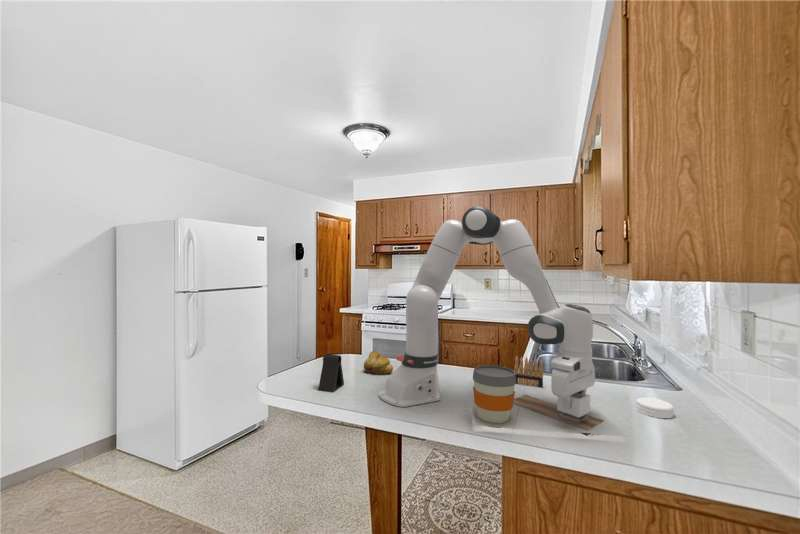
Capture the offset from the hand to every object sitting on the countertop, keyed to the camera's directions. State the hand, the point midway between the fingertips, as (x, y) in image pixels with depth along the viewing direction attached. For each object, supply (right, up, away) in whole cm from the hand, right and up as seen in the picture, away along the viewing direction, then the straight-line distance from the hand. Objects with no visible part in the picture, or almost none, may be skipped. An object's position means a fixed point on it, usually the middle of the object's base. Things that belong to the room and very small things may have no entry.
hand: (573, 405), depth 110 cm
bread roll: (-61, -3, +46) cm, 76 cm away
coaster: (+31, -6, +10) cm, 33 cm away
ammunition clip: (-3, -5, +29) cm, 30 cm away
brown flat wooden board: (-4, -5, +5) cm, 8 cm away
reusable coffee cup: (-24, -5, 0) cm, 25 cm away
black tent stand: (-77, -3, +25) cm, 81 cm away
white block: (0, -2, 0) cm, 2 cm away
